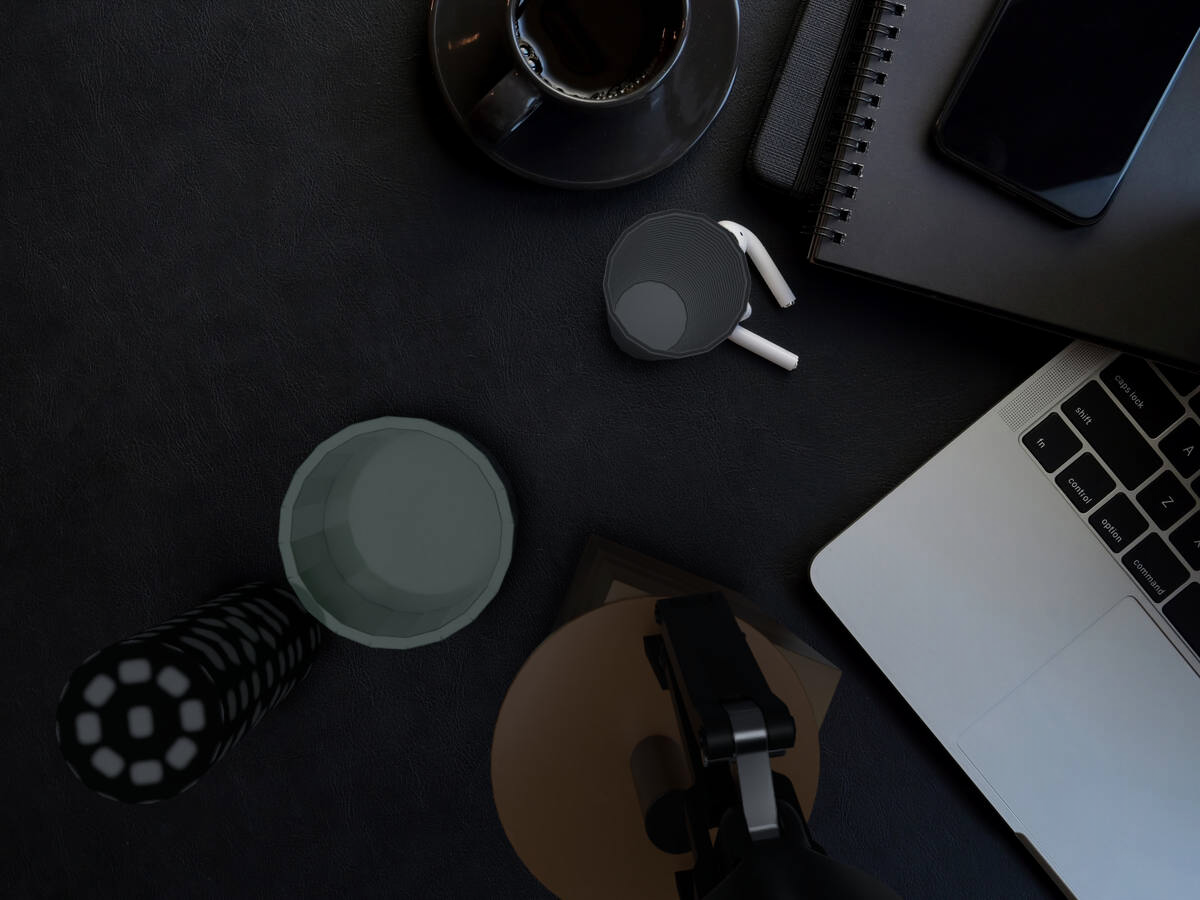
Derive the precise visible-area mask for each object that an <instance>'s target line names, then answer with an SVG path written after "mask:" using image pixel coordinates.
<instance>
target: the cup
mask: <svg viewBox="0 0 1200 900" xmlns="http://www.w3.org/2000/svg"><path fill="white" fill-rule="evenodd" d="M606 259H607V260H606V264H605V270H604V276H603V282H602V288H603V296H604V301H605V302H604V303H605V311H606V317H607V322H608V327H609V332H610V336H611V338H612V339H613V341H614V342H615V344H616V345H617V346H618V348H619V349H620V351H622V352H624V353H625V354H627V355H629V356H630V357H632V358H634V359H636V360H642V361H648V362H653V361H665V360H676V359H682V358H686V357H691V356H696V355H701V354H705V353H708V352H710V351H711V350H713V349H714V348H715V347H717V346H718V345H720V344H721V343H723V342H724V341H725V340H727V339H728V338H730V337H731V336H732V335H733V333H734V332H735V330H736V328H737V327H738V325H739V324H740V322H741V321H742V319H743V318H744V316H745V314H746V313H747V310H748V306H749V299H750V293H751V288H752V279H751V274H750V269H749V266H748V265H749V264H748V260H747V256H746V253H745V251H744V249H742V247H741V245H740V244H739V243H738V241H737V240H736V238H735V237H734V235H733V234H732V233H731V231H730V229H728V228H726V227H725V226H724V225H723V224H721V223H719V222H717V221H716V220H714V219H712V218H711V217H710V216H708V215H707V214H705V213H701V212H696V211H691V210H685V209H680V208H671V209H667V210H663V211H658V212H654V213H649V214H646V215H645V216H643V217H641V218H640V219H638V220H637V221H636V222H634V223H633V224H632V225H630V226H629V227H627V228H626V229H624V230H623V231H622V233H621V235H620V236H619V237H618V239H617V241H616V242H615V243H614V245H613V247H612V248H611V250H610V252H609V253H608V255H607V258H606Z"/></svg>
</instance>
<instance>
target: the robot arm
mask: <svg viewBox="0 0 1200 900" xmlns="http://www.w3.org/2000/svg"><path fill="white" fill-rule="evenodd" d="M654 616H655V622H656V623H658V625H659V626H660V630H661V633H662V634H657V635H650V636H643V641H644V649H645V654H646V656H647V658H648V660H649V663H650V665H651V667H652V669H653V671H654V673H655V675H656V678H657V680H658V682H659V684H660V686H661V688H662V690H669V691H670V695H671V700H672V704H673V708H674V712H675V716H676V720H677V724H678V728H679V732H680V736H681V740H682V744H683V748H684V752H685V757H686V761H687V765H688V769H689V773H690V777H691V781H692V786H691V787H690V788H689V789H687V791H686V793H685V815H686V827H687V831H688V835H689V840H690V844H691V848H692V853H693V857H694V862H695V865H694V867H693V869H689V870H683V871H676V872H675V880H676V887H677V891H678V895H679V898H680V900H906V899H905V898H903V896H901V894H899V893H898V891H895V890H894V889H893V888H892V887H890V886H889V885H888V884H886V883H885V882H883V881H882V880H880V879H879V878H877V877H876V876H873V875H872V874H869V873H867V872H865V871H864V870H861V869H859V868H858V867H855V866H853V865H849V864H847V863H845V862H842V861H841V860H837V859H835V858H832V857H829V856H828V854H827V852H826V850H825V848H824V847H823V846H822V845H821V844H819V843H818V842H817V841H815V840H814V839H813V837H812V834H811V832H810V831H811V830H810V828H809V826H808V822H807V823H806V820H805V817H804V815H803V812H802V809H801V806H800V804H799V801H798V798H797V795H796V792H795V790H794V787H793V784H792V782H791V780H790V779H789V778H788V777H787V776H786V775H784V774H781V773H778V772H775V771H773V770H772V769H771V765H770V758H774V757H781V756H785V755H786V752H787V750H786V749H787V748H793V747H794V745H795V741H796V724H795V720H794V717H793V716H791V714H790V712H789V709H788V707H787V705H786V704H785V703H784V702H783V701H782V700H781V699H780V698H778V697H777V696H776V695H775V694H774V693H773V692H772V691H771V689H770V687H769V685H768V683H767V681H766V679H765V677H764V675H763V673H762V671H761V669H760V667H759V665H758V663H757V661H756V659H755V657H754V655H753V653H752V651H751V649H750V647H749V645H748V643H747V641H746V639H745V638H746V634H745V633H744V632H742V631H741V629H740V627H739V625H738V623H737V621H736V619H735V617H734V615H733V613H732V611H731V609H730V607H729V605H728V602H727V600H726V599H725V597H724V595H723V593H722V591H714V592H707V593H700V594H693V595H686V596H680V597H673V598H666V599H659V600H656V604H655V610H654ZM717 827H719V828H718V832H717V835H716V839H715V842H714V847H713V846H712V842H711V838H710V834H709V830H710V829H712V828H717Z"/></svg>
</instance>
